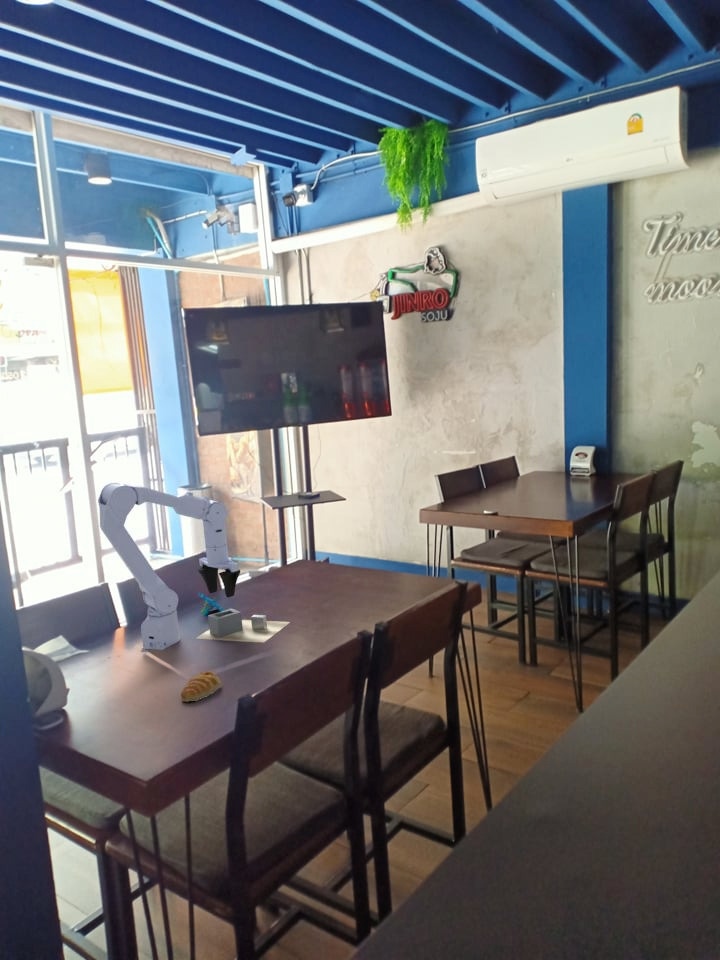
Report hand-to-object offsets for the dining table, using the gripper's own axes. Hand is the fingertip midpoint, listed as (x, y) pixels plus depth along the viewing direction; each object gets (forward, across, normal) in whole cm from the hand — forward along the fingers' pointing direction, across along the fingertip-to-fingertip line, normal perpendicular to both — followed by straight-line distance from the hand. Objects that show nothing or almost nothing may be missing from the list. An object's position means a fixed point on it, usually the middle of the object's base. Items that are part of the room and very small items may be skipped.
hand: (221, 594), depth 198 cm
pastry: (+10, -29, +29) cm, 42 cm away
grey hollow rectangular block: (+8, -5, +3) cm, 11 cm away
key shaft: (+10, -11, -3) cm, 15 cm away
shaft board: (+10, -8, 0) cm, 13 cm away
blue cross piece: (+10, +12, -5) cm, 17 cm away
